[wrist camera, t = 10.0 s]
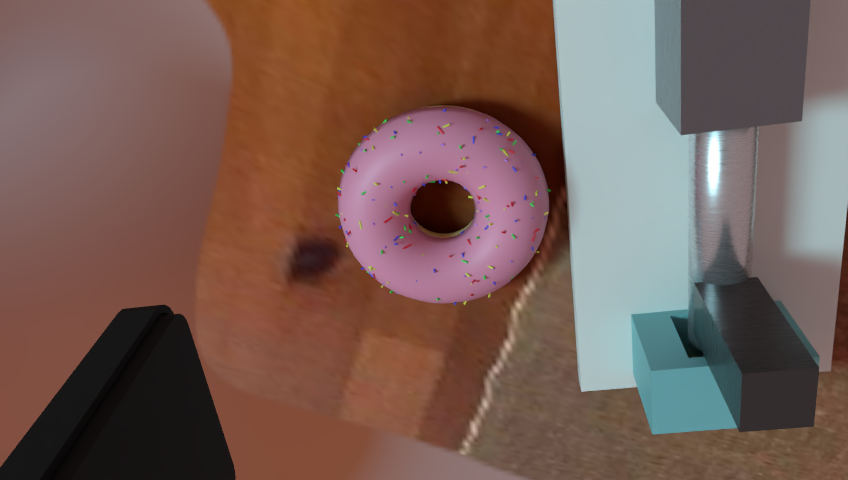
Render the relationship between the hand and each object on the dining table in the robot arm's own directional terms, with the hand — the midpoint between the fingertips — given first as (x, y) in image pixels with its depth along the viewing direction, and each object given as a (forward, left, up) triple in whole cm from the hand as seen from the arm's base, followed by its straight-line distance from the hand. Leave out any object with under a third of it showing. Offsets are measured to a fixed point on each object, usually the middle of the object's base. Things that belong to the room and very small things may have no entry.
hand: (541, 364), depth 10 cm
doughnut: (+10, -3, -31) cm, 33 cm away
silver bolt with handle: (+11, +10, -28) cm, 32 cm away
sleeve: (+2, +10, -29) cm, 31 cm away
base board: (+8, +10, -30) cm, 33 cm away
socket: (+20, +10, -29) cm, 37 cm away
